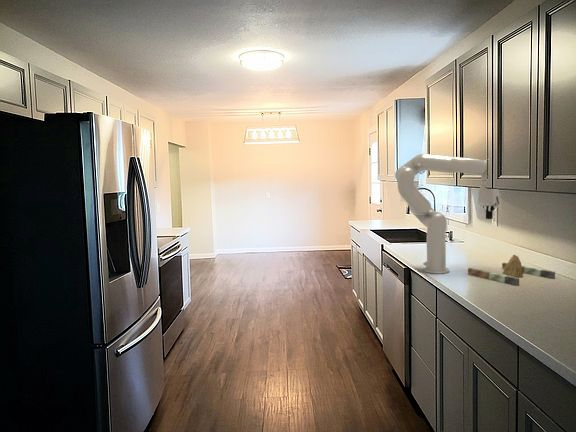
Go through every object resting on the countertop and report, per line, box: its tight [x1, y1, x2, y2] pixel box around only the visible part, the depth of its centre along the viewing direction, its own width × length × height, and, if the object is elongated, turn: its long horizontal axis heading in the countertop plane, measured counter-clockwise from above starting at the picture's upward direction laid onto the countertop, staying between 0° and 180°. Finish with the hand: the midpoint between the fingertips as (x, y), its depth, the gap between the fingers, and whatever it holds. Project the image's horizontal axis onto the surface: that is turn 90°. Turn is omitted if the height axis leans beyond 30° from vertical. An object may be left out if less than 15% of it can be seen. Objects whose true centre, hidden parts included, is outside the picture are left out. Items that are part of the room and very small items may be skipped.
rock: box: [502, 254, 524, 278], centre depth 220 cm, size 11×9×10 cm
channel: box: [467, 262, 556, 287], centre depth 218 cm, size 28×26×3 cm
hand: (489, 218), depth 232 cm, fingers closed
